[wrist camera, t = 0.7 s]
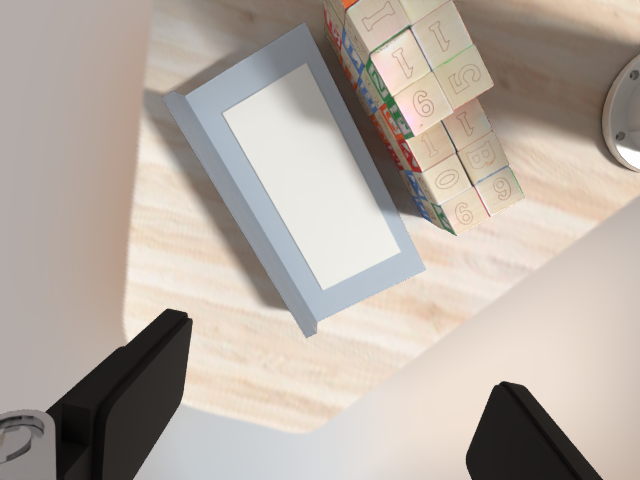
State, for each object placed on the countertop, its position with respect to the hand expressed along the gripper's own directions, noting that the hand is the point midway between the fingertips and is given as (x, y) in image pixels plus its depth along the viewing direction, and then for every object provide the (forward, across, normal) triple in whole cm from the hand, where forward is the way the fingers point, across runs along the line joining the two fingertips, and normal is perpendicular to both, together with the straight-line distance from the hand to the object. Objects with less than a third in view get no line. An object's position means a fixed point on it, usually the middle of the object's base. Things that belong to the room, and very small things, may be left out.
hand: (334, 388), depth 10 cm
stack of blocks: (+28, -4, -12) cm, 31 cm away
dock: (+27, +4, -3) cm, 28 cm away
